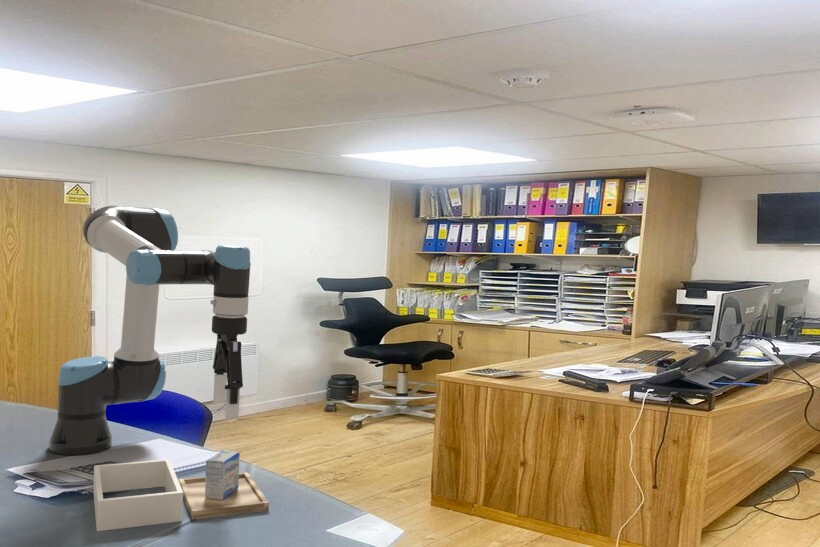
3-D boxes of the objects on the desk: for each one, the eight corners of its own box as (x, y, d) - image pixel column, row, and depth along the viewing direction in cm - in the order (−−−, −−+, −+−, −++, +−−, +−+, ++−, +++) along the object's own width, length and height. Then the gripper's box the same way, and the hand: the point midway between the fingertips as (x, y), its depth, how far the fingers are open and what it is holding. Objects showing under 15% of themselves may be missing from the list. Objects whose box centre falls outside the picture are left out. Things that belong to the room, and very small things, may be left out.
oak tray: (178, 486, 163) (178, 478, 163) (247, 479, 170) (247, 472, 170) (192, 519, 145) (192, 511, 145) (268, 510, 152) (268, 502, 152)
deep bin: (93, 491, 157) (94, 465, 157) (168, 484, 164) (169, 459, 164) (96, 531, 138) (97, 501, 137) (182, 521, 145) (183, 492, 144)
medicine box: (222, 501, 154) (224, 462, 153) (203, 498, 155) (205, 459, 154) (238, 488, 161) (240, 451, 161) (220, 486, 162) (222, 449, 162)
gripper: (202, 308, 165) (198, 397, 167) (223, 323, 143) (218, 426, 144) (235, 308, 169) (230, 395, 170) (260, 323, 146) (255, 424, 148)
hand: (225, 410), depth 157 cm, fingers open, 13 cm apart
